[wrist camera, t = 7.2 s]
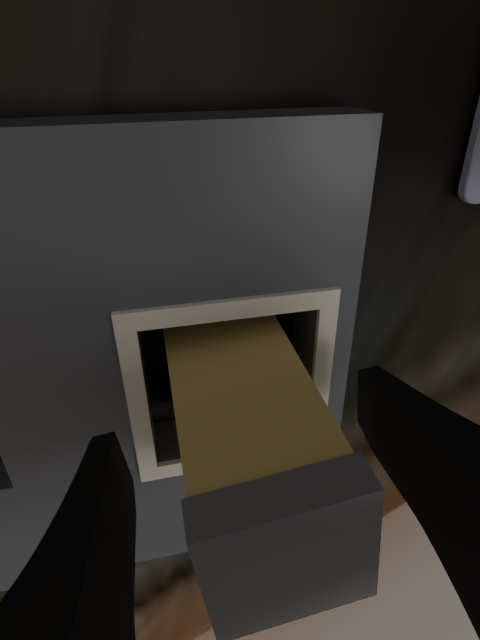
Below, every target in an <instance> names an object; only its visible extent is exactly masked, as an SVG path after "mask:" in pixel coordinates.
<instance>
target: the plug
mask: <svg viewBox="0 0 480 640" xmlns="http://www.w3.org/2000/svg"><path fill="white" fill-rule="evenodd" d="M163 333H164V340H165V347H166V354H167V362H168V369H169V376H170V383H171V391H172V398H173V405H174V413H175V420H176V427H177V434H178V442H179V449H180V456H181V463H182V471H183V478H184V485H185V492H186V498H184V499H181V505H182V513H183V521H184V529H185V537H186V545H187V549H188V552H189V555H190V558H191V561H192V564H193V567H194V570H195V574H196V577H197V580H198V583H199V586H200V589H201V592H202V595H203V599H204V602H205V605H206V608H207V611H208V614H209V617H210V620H211V624H212V627H213V630H214V633H215V636H216V639H217V640H233V639H236V638H240V637H243V636H246V635H249V634H253V633H255V632H259V631H262V630H265V629H269V628H272V627H275V626H278V625H281V624H285V623H288V622H291V621H294V620H297V619H301V618H304V617H307V616H310V615H313V614H317V613H320V612H323V611H326V610H329V609H333V608H336V607H339V606H342V605H345V604H349V603H352V602H355V601H358V600H361V599H365V598H368V597H371V596H374V595H377V582H378V568H379V553H380V539H381V525H382V512H383V498H384V489H383V487H382V486H381V484H380V482H379V481H378V479H377V477H376V476H375V474H374V472H373V471H372V469H371V467H370V466H369V464H368V462H367V461H366V459H365V457H364V456H363V454H362V452H361V451H358V452H355V453H354V451H353V449H352V448H351V446H350V444H349V442H348V441H347V439H346V437H345V436H344V434H343V432H342V430H341V429H340V427H339V425H338V423H337V422H336V420H335V418H334V417H333V415H332V413H331V411H330V410H329V408H328V406H327V405H326V403H325V401H324V399H323V398H322V396H321V394H320V393H319V391H318V389H317V387H316V386H315V384H314V382H313V380H312V379H311V377H310V375H309V374H308V372H307V370H306V368H305V367H304V365H303V363H302V362H301V360H300V358H299V356H298V355H297V353H296V351H295V350H294V348H293V346H292V344H291V343H290V341H289V339H288V337H287V336H286V334H285V332H284V331H283V329H282V327H281V325H280V324H279V322H278V320H277V319H276V317H275V315H269V316H261V317H252V318H244V319H236V320H228V321H219V322H211V323H203V324H195V325H187V326H178V327H170V328H163Z"/></svg>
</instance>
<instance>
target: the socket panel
mask: <svg viewBox="0 0 480 640" xmlns="http://www.w3.org/2000/svg"><path fill="white" fill-rule="evenodd" d="M382 118H383V113H381V112H376V111H371V110H366V109H361V108H356V107H351V106H338V107H310V108H281V109H252V110H224V111H195V112H167V113H138V114H109V115H81V116H52V117H24V118H0V592H1V591H5V590H9V589H10V587H11V586H12V585H13V583H14V582H15V580H16V579H17V577H18V576H19V574H20V573H21V571H22V570H23V568H24V567H25V565H26V564H27V562H28V561H29V559H30V557H31V556H32V554H33V553H34V551H35V549H36V548H37V546H38V544H39V543H40V541H41V539H42V538H43V536H44V534H45V532H46V530H47V529H48V527H49V525H50V523H51V521H52V520H53V518H54V516H55V514H56V512H57V510H58V509H59V507H60V505H61V503H62V501H63V499H64V497H65V495H66V493H67V491H68V489H69V487H70V484H71V482H72V480H73V478H74V476H75V474H76V472H77V469H78V467H79V465H80V463H81V460H82V458H83V456H84V453H85V451H86V449H87V446H88V444H89V441H90V440H91V438H92V437H94V436H98V435H102V434H106V433H110V432H114V431H115V433H116V436H117V439H118V441H119V444H120V446H121V449H122V452H123V454H124V457H125V459H126V462H127V464H128V467H129V470H130V472H131V475H132V477H133V480H134V491H135V503H136V549H135V563H137V562H141V561H146V560H151V559H156V558H160V557H165V556H170V555H174V554H179V553H184V552H188V549H187V545H186V537H185V529H184V521H183V513H182V505H181V499H184V498H186V492H185V485H184V478H183V471H182V463H181V456H180V449H179V442H178V434H177V427H176V420H175V419H174V420H168V421H161V422H155V423H154V421H153V414H152V407H151V400H150V393H149V387H148V380H147V373H146V366H145V359H144V352H143V346H142V339H141V332H140V331H145V330H154V329H162V328H170V327H178V326H187V325H195V324H203V323H211V322H219V321H228V320H236V319H244V318H252V317H261V316H269V315H277V314H285V313H294V312H295V314H294V332H293V348H294V350H295V351H296V353H297V355H298V356H299V358H300V360H301V362H302V363H303V365H304V367H305V368H306V370H307V372H308V374H309V375H310V377H311V379H312V380H313V382H314V384H315V386H316V387H317V389H318V391H319V393H320V394H321V396H322V398H323V399H324V401H325V403H326V405H327V406H328V408H329V410H330V411H331V413H332V415H333V417H334V418H335V420H336V422H337V423H338V425H339V427H341V419H342V412H343V405H344V397H345V390H346V383H347V375H348V368H349V361H350V353H351V346H352V339H353V331H354V324H355V317H356V309H357V302H358V295H359V287H360V280H361V273H362V265H363V258H364V251H365V243H366V236H367V229H368V221H369V214H370V207H371V199H372V192H373V184H374V177H375V170H376V162H377V155H378V148H379V140H380V133H381V126H382Z"/></svg>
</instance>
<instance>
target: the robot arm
mask: <svg viewBox="0 0 480 640" xmlns="http://www.w3.org/2000/svg"><path fill="white" fill-rule="evenodd" d="M458 195H459V197H460V199H462V200H463V201H465V202H467V203H470V204H480V96H479V100H478V104H477V109H476V113H475V117H474V122H473V126H472V130H471V135H470V139H469V143H468V148H467V152H466V156H465V161H464V165H463V169H462V174H461V178H460V182H459V186H458ZM357 421H358V423H359V425H360V427H361V429H362V431H363V433H364V435H365V437H366V439H367V441H368V443H369V445H370V447H371V449H372V451H373V452H374V454H375V456H376V457H377V459H378V460H379V462H380V463H381V465H382V466H383V468H384V469H385V471H386V472H387V474H388V475H389V477H390V478H391V480H392V481H393V483H394V484H395V486H396V487H397V489H398V490H399V492H400V493H401V495H402V496H403V498H404V499H405V501H406V502H407V504H408V505H409V507H410V508H411V510H412V511H413V513H414V514H415V516H416V517H417V519H418V521H419V522H420V524H421V526H422V527H423V529H424V530H425V533H426V534H427V536H428V538H429V540H430V542H431V544H432V546H433V547H434V549H435V551H436V553H437V555H438V557H439V559H440V561H441V562H442V564H443V566H444V568H445V570H446V572H447V574H448V576H449V578H450V580H451V582H452V584H453V586H454V588H455V590H456V592H457V594H458V596H459V597H460V600H461V602H462V604H463V606H464V608H465V610H466V612H467V614H468V616H469V618H470V621H471V623H472V625H473V627H474V629H475V631H476V633H477V635H478V637H479V639H480V425H478V424H476V423H474V422H472V421H470V420H468V419H466V418H464V417H463V416H461V415H459V414H457V413H455V412H453V411H451V410H450V409H448V408H446V407H444V406H442V405H441V404H439V403H437V402H435V401H434V400H432V399H430V398H429V397H427V396H425V395H424V394H422V393H420V392H419V391H417V390H416V389H414V388H412V387H411V386H409V385H408V384H406V383H404V382H403V381H401V380H400V379H398V378H397V377H395V376H393V375H392V374H390V373H389V372H387V371H385V370H384V369H382V368H381V367H379V366H373V367H369V368H365V369H361V370H358V419H357ZM135 549H136V503H135V491H134V480H133V477H132V475H131V472H130V470H129V467H128V464H127V462H126V459H125V457H124V454H123V452H122V449H121V446H120V444H119V441H118V439H117V436H116V433H115V431H114V432H110V433H106V434H102V435H98V436H94V437H92V438H91V440H90V441H89V444H88V446H87V449H86V451H85V453H84V456H83V458H82V460H81V463H80V465H79V467H78V469H77V472H76V474H75V476H74V478H73V480H72V482H71V484H70V487H69V489H68V491H67V493H66V495H65V497H64V499H63V501H62V503H61V505H60V507H59V509H58V510H57V512H56V514H55V516H54V518H53V520H52V521H51V523H50V525H49V527H48V529H47V530H46V532H45V534H44V536H43V538H42V539H41V541H40V543H39V544H38V546H37V548H36V549H35V551H34V553H33V554H32V556H31V557H30V559H29V561H28V562H27V564H26V565H25V567H24V568H23V570H22V571H21V573H20V574H19V576H18V577H17V579H16V580H15V582H14V583H13V585H12V586H11V587H10V589H9V590H8V592H7V593H6V594H5V596H4V597H3V599H2V600H1V601H0V640H135V625H134V578H135Z"/></svg>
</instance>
